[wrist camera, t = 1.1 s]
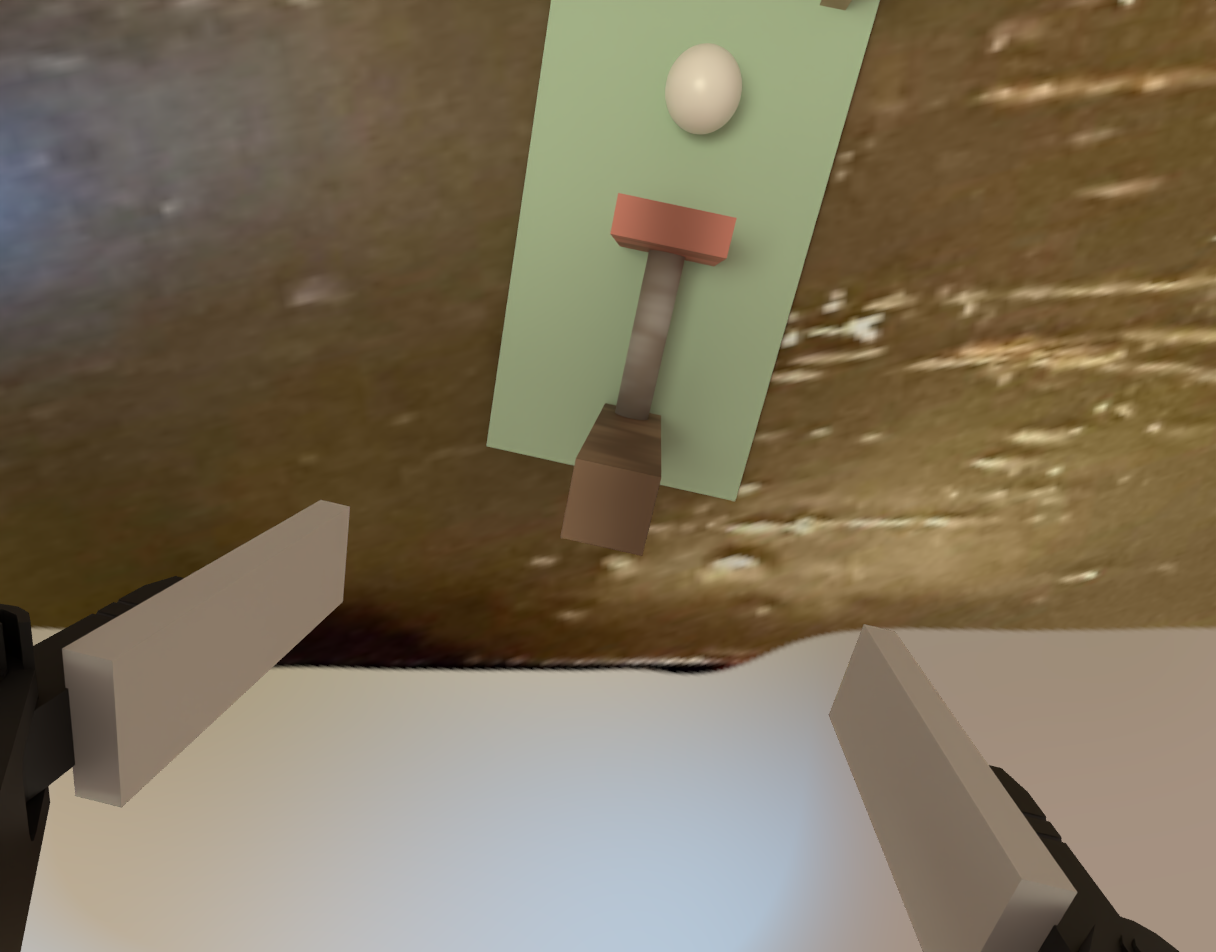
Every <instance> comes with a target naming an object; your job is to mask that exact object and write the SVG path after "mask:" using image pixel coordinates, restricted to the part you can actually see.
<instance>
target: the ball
mask: <svg viewBox="0 0 1216 952" xmlns="http://www.w3.org/2000/svg"><path fill="white" fill-rule="evenodd" d="M741 93H742V77H741V72H740V68H739V66H738V64H737V62H736V60H735V58H734V57H733V56H732V54H731V53H730V52H728V51H727V50H726V49H725V48H723V47H721V46H719V45H716V44H711V43H703V44H698V45H695V46H692V47H690V48H689V49H687V50H686V51H684V52H683V53H682V54H681V55H680V56H679V57H678V58H677V59H676V61H675V62H674V64H673V65H672V67H671V69H670V71H669V74H668V77H667V80H666V86H665V100H666V105H667V109H668V112H669V114H670V116H671V117H672V119H673V121H674V122H675V123H676V124H677V125H678V126H679V127H680V128H682V129H683V130H685V131H687V132H689V133H692V134H698V135H699V134H708V133H711V132H714V131H716V130H718V129H720V128H721V127H723V126H724V125H725V124H726V123H727V122H728V121H729V120H730V119H731V117H732V116H733V114H734V113H735V111H736V109H737V107H738V105H739V102H740V98H741Z"/></svg>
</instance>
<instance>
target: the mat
mask: <svg viewBox="0 0 1216 952" xmlns="http://www.w3.org/2000/svg"><path fill="white" fill-rule="evenodd" d="M820 2H821V0H551V6H550V12H549V19H548V26H547V33H546V40H545V47H544V54H543V60H542V67H541V74H540V81H539V88H538V95H537V102H536V109H535V115H534V122H533V129H532V136H531V143H530V150H529V157H528V163H527V170H526V177H525V184H524V191H523V198H522V205H521V211H520V218H519V225H518V232H517V239H516V246H515V253H514V260H513V266H512V273H511V280H510V287H509V294H508V301H507V308H506V314H505V321H504V328H503V335H502V342H501V349H500V356H499V362H498V369H497V376H496V383H495V390H494V397H493V404H492V411H491V417H490V424H489V431H488V438H487V445H486V446H488V447H492V448H497V449H501V450H506V451H511V452H515V453H520V454H524V455H529V456H533V457H538V458H542V459H547V460H551V461H556V462H560V463H565V464H569V465H575V460H576V457H577V455H578V453H579V451H580V450H581V448H582V446H583V444H584V442H585V440H586V438H587V436H588V434H589V433H590V431H591V429H592V427H593V425H594V423H595V421H596V419H597V418H598V416H599V414H600V412H601V410H602V408H603V406H604V404H605V403H607V404H611V405H616V404H617V400H618V395H619V390H620V386H621V381H622V376H623V371H624V367H625V362H626V357H627V352H628V348H629V343H630V338H631V333H632V329H633V324H634V319H635V315H636V310H637V305H638V300H639V296H640V291H641V286H642V281H643V277H644V272H645V267H646V263H647V258H648V253H649V252H644V251H639V250H635V249H630V248H625V247H621V246H619V245H618V243H617V242H616V241H615V239H614V238H613V237H612V235H611V234H610V233H611V228H612V222H613V217H614V212H615V207H616V201H617V196H618V193H621V194H626V195H631V196H635V197H640V198H645V199H650V200H654V201H659V202H664V203H669V204H673V205H678V206H683V207H688V208H692V209H697V210H702V211H706V212H711V213H716V214H721V215H725V216H730V217H735V218H737V219H736V223H735V227H734V231H733V235H732V239H731V243H730V247H729V251H728V255H727V259H725V260H723V261H722V262H720V263H719V264H717V265H715V266H710V265H705V264H700V263H696V262H691V261H686V260H684V265H683V269H682V273H681V278H680V282H679V287H678V291H677V295H676V300H675V304H674V308H673V313H672V317H671V321H670V326H669V330H668V334H667V339H666V343H665V347H664V352H663V356H662V361H661V365H660V369H659V374H658V378H657V382H656V387H655V391H654V395H653V400H652V404H651V408H650V413H652V414H657V415H661V481H660V485H664V486H668V487H673V488H677V489H682V490H686V491H691V492H695V493H700V494H704V495H709V496H713V497H718V498H722V499H727V500H731V501H735V500H736V497H737V493H738V490H739V486H740V483H741V479H742V476H743V472H744V469H745V466H746V462H747V459H748V455H749V452H750V448H751V445H752V441H753V438H754V434H755V431H756V427H757V424H758V420H759V417H760V414H761V410H762V407H763V403H764V400H765V396H766V393H767V389H768V386H769V382H770V379H771V375H772V372H773V369H774V365H775V362H776V358H777V355H778V351H779V348H780V344H781V341H782V337H783V334H784V330H785V327H786V324H787V320H788V317H789V313H790V310H791V306H792V303H793V299H794V296H795V292H796V289H797V285H798V282H799V279H800V275H801V272H802V268H803V265H804V261H805V258H806V254H807V251H808V247H809V244H810V240H811V237H812V234H813V230H814V227H815V223H816V220H817V216H818V213H819V209H820V206H821V202H822V199H823V195H824V192H825V189H826V185H827V182H828V178H829V175H830V171H831V168H832V164H833V161H834V157H835V154H836V150H837V147H838V143H839V140H840V137H841V133H842V130H843V126H844V123H845V119H846V116H847V112H848V109H849V105H850V102H851V98H852V95H853V92H854V88H855V85H856V81H857V78H858V74H859V71H860V67H861V64H862V60H863V57H864V53H865V50H866V47H867V43H868V40H869V36H870V33H871V29H872V26H873V22H874V19H875V15H876V12H877V8H878V5H879V2H880V0H852V1H851V2H850V4H849V5H848V7H847V9H846V10H840V9H836V8H831V7H826V6H821V5H820ZM703 43H711V44H716V45H719V46H721V47H723V48H725V49H726V50H727V51H728V52H730V53H731V54H732V56H733V57H734V58H735V60H736V62H737V64H738V66H739V68H740V72H741V77H742V93H741V98H740V102H739V105H738V107H737V109H736V111H735V113H734V114H733V116H732V117H731V119H730V120H729V121H728V122H727V123H726V124H725V125H724V126H723V127H721V128H720V129H718V130H716V131H714V132H711V133H708V134H699V135H698V134H692V133H689V132H687V131H685V130H683V129H682V128H680V127H679V126H678V125H677V124H676V123H675V122H674V121H673V119H672V117H671V116H670V114H669V112H668V109H667V105H666V100H665V86H666V80H667V77H668V74H669V71H670V69H671V67H672V65H673V64H674V62H675V61H676V59H677V58H678V57H679V56H680V55H681V54H682V53H683V52H684V51H686V50H687V49H689V48H690V47H692V46H695V45H698V44H703Z"/></svg>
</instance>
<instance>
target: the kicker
mask: <svg viewBox="0 0 1216 952" xmlns="http://www.w3.org/2000/svg"><path fill="white" fill-rule="evenodd" d="M736 219H737V218H735V217H730V216H725V215H721V214H716V213H711V212H706V211H702V210H697V209H692V208H688V207H683V206H678V205H673V204H669V203H664V202H659V201H654V200H650V199H645V198H640V197H635V196H631V195H626V194H621V193H618V196H617V201H616V207H615V212H614V217H613V222H612V228H611V233H610V234H611V235H612V237H613V238H614V239H615V241H616V242H617V243H618V245H619V246H621V247H625V248H630V249H635V250H639V251H644V252H649V253H648V258H647V263H646V267H645V272H644V277H643V281H642V286H641V291H640V296H639V300H638V305H637V310H636V315H635V319H634V324H633V329H632V333H631V338H630V343H629V348H628V352H627V357H626V362H625V367H624V371H623V376H622V381H621V386H620V390H619V395H618V400H617V404H616V405H611V404H607V403H605V404H604V406H603V408H602V410H601V412H600V414H599V416H598V418H597V419H596V421H595V423H594V425H593V427H592V429H591V431H590V433H589V434H588V436H587V438H586V440H585V442H584V444H583V446H582V448H581V450H580V451H579V453H578V455H577V457H576V460H575V465H574V470H573V475H572V480H571V485H570V490H569V496H568V501H567V506H566V511H565V516H564V521H563V526H562V531H561V536H560V538H565V539H569V540H574V541H578V542H582V543H587V544H591V545H596V546H600V547H605V548H609V549H614V550H618V551H622V552H627V553H631V554H636V555H640V556H642V555H643V551H644V547H645V543H646V539H647V535H648V531H649V526H650V522H651V518H652V514H653V510H654V506H655V502H656V498H657V494H658V490H659V486H660V481H661V415H657V414H652V413H650V408H651V404H652V400H653V395H654V391H655V387H656V382H657V378H658V374H659V369H660V365H661V361H662V356H663V352H664V347H665V343H666V339H667V334H668V330H669V326H670V321H671V317H672V313H673V308H674V304H675V300H676V295H677V291H678V287H679V282H680V278H681V273H682V269H683V265H684V260H686V261H691V262H696V263H700V264H705V265H710V266H715V265H717V264H719V263H720V262H722V261H723V260H725V259H727V255H728V251H729V247H730V243H731V239H732V235H733V231H734V227H735V223H736Z"/></svg>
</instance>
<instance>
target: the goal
mask: <svg viewBox="0 0 1216 952" xmlns="http://www.w3.org/2000/svg"><path fill="white" fill-rule="evenodd" d="M851 1H852V0H821V2H820V5H821V6H826V7H831V8H836V9H840V10H846V9H847V7H848V5H849V4H850V2H851Z"/></svg>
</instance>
